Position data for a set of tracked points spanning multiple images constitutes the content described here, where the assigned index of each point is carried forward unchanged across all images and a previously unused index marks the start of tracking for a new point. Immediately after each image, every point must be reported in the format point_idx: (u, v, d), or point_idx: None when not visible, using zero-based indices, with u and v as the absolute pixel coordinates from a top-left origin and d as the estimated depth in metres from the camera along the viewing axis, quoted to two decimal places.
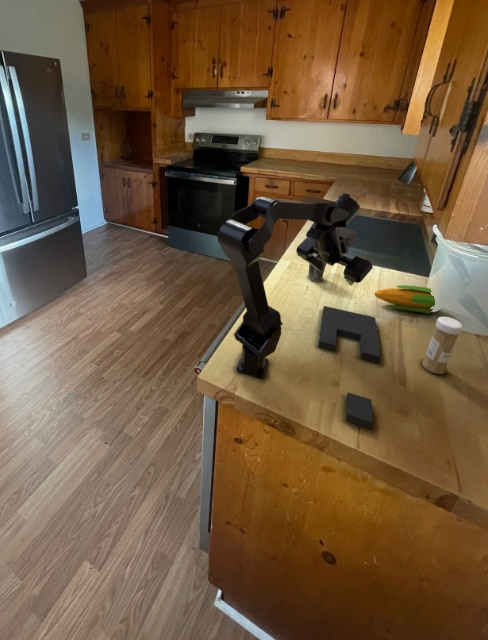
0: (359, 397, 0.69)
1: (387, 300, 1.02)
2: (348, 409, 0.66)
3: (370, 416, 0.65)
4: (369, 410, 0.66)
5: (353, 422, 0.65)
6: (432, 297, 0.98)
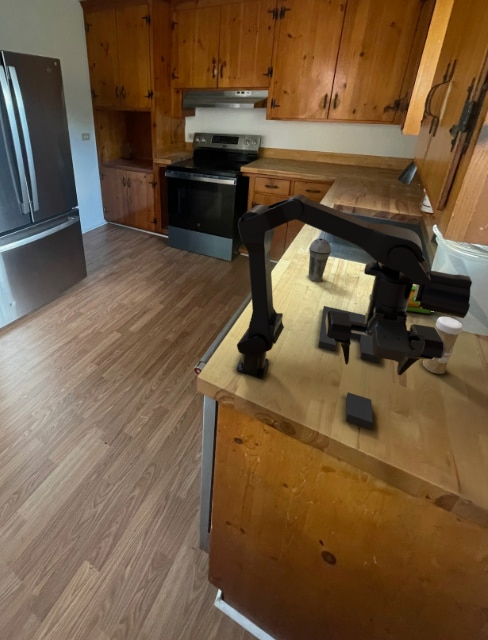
0: (359, 397, 0.69)
1: None
2: (348, 409, 0.66)
3: (370, 416, 0.65)
4: (369, 410, 0.66)
5: (353, 422, 0.65)
6: None
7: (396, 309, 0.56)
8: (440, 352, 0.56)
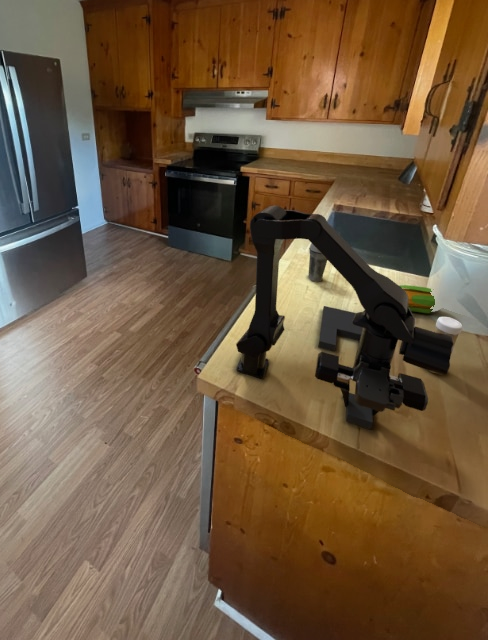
0: None
1: None
2: (348, 409, 0.66)
3: (370, 416, 0.65)
4: (369, 410, 0.66)
5: (353, 422, 0.65)
6: (432, 297, 0.98)
7: (380, 360, 0.59)
8: (422, 405, 0.58)
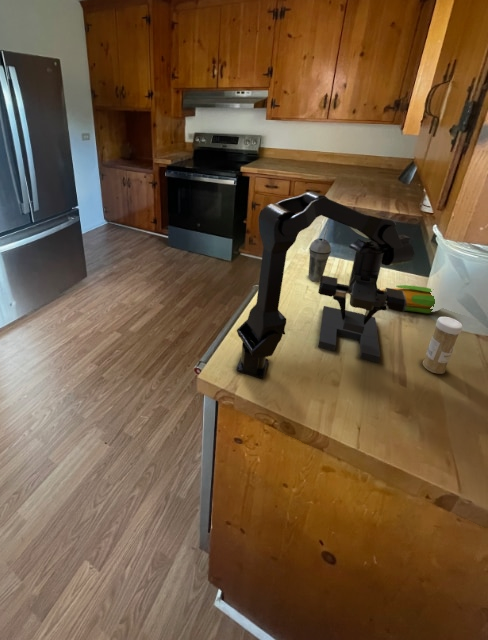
0: (354, 313, 0.85)
1: None
2: (345, 319, 0.83)
3: (362, 323, 0.81)
4: (362, 320, 0.82)
5: (349, 329, 0.82)
6: (432, 297, 0.98)
7: (369, 272, 0.75)
8: (402, 307, 0.74)
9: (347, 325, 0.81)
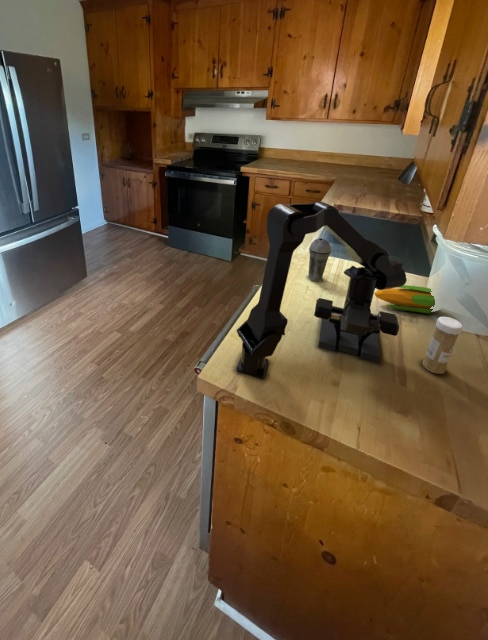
0: (349, 334, 0.88)
1: (387, 300, 1.02)
2: (340, 341, 0.85)
3: (357, 345, 0.84)
4: (356, 342, 0.85)
5: (344, 350, 0.84)
6: (432, 297, 0.98)
7: (363, 297, 0.78)
8: (394, 331, 0.77)
9: (342, 347, 0.84)
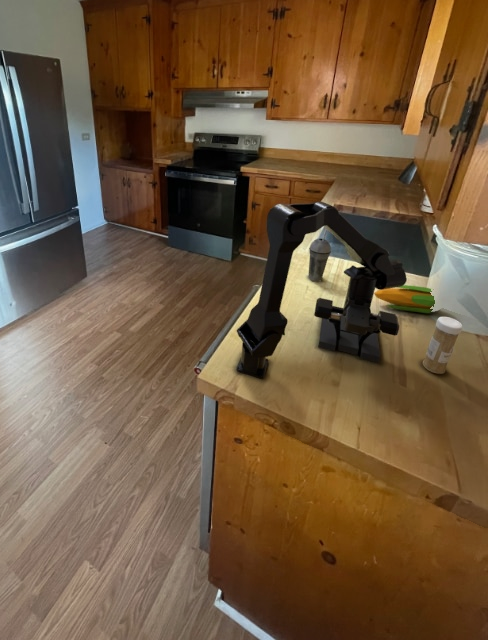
0: (349, 333, 0.88)
1: (387, 300, 1.03)
2: (340, 341, 0.85)
3: (356, 345, 0.84)
4: (356, 341, 0.85)
5: (344, 350, 0.84)
6: (432, 297, 0.98)
7: (363, 297, 0.78)
8: (394, 331, 0.77)
9: (342, 347, 0.84)
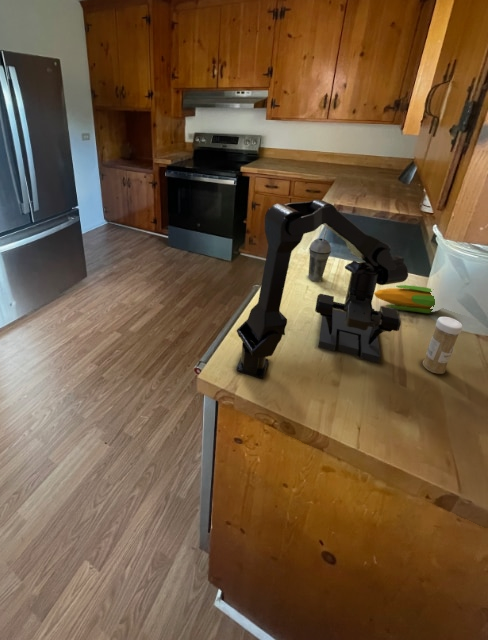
0: (348, 334, 0.88)
1: (387, 300, 1.02)
2: (340, 341, 0.85)
3: (356, 345, 0.84)
4: (356, 342, 0.85)
5: (344, 351, 0.84)
6: (432, 297, 0.98)
7: (364, 293, 0.77)
8: (396, 326, 0.77)
9: (342, 347, 0.84)
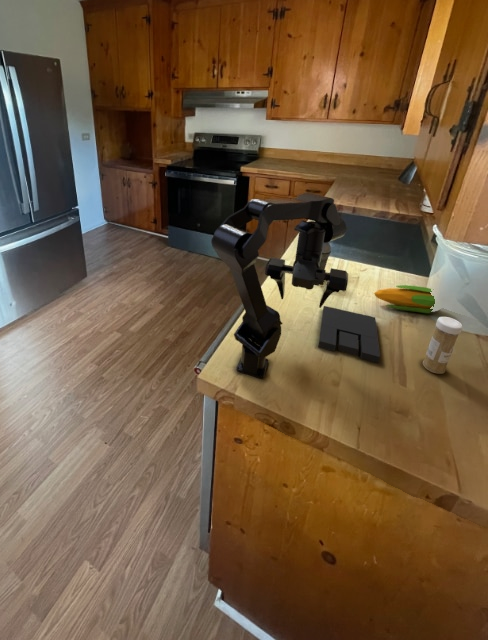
0: (348, 334, 0.88)
1: (387, 300, 1.03)
2: (340, 341, 0.85)
3: (356, 345, 0.84)
4: (356, 342, 0.85)
5: (344, 351, 0.84)
6: (432, 297, 0.98)
7: (311, 252, 0.75)
8: (343, 286, 0.75)
9: (342, 347, 0.84)
